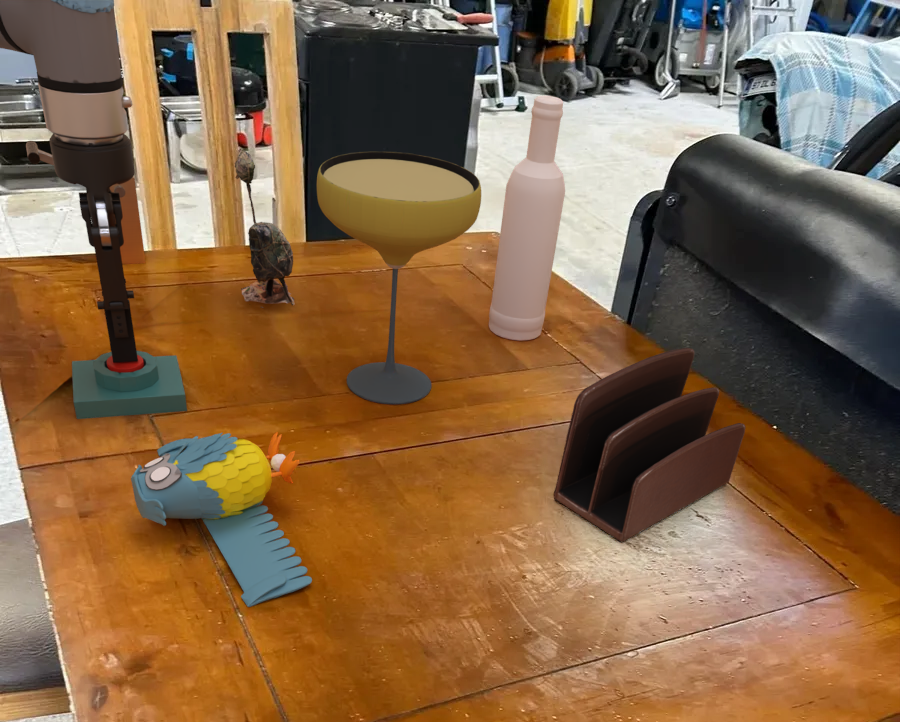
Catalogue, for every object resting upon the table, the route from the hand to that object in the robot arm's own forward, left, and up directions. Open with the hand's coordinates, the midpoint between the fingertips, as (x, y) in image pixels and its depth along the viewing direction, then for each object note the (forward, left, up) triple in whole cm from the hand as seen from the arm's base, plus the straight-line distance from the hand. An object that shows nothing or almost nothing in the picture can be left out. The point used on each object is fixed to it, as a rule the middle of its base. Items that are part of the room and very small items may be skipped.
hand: (125, 358), depth 102 cm
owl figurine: (+19, -19, -5) cm, 27 cm away
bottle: (+41, +37, -5) cm, 55 cm away
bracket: (-17, +34, -5) cm, 38 cm away
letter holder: (+61, 0, -5) cm, 61 cm away
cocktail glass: (+28, +14, -5) cm, 32 cm away
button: (0, 0, -2) cm, 2 cm away
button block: (0, 0, -5) cm, 5 cm away
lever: (-21, +31, +8) cm, 39 cm away
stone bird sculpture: (+6, +31, -5) cm, 32 cm away
